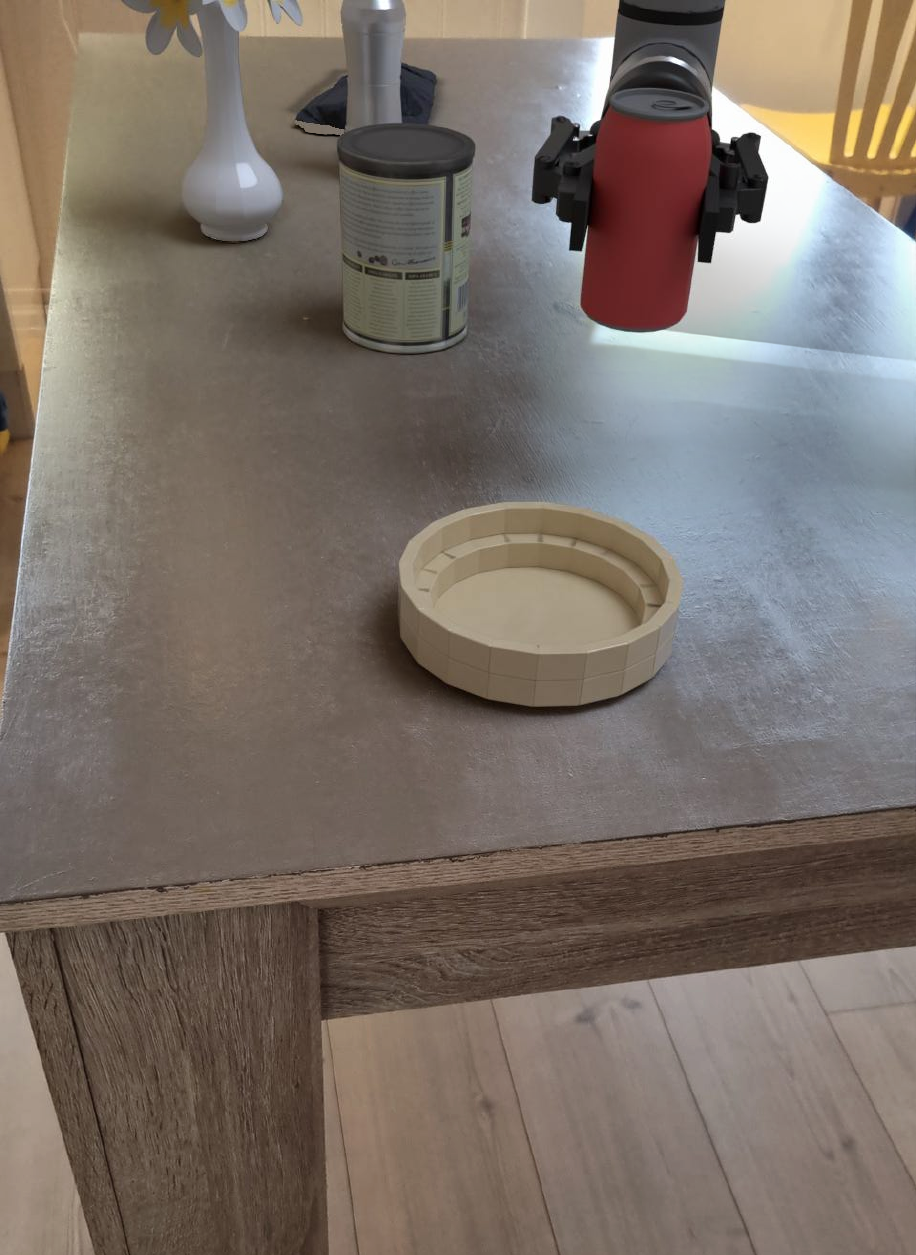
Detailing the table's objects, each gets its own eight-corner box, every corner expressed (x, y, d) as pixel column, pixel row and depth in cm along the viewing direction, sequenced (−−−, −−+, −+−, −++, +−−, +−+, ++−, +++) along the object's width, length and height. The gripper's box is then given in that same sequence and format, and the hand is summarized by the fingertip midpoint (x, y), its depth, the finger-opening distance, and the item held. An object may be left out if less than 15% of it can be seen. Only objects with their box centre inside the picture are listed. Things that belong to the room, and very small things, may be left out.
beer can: (695, 337, 78) (730, 118, 70) (586, 336, 78) (610, 115, 70) (674, 296, 83) (705, 86, 75) (571, 294, 83) (592, 83, 75)
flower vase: (134, 262, 115) (91, -78, 98) (200, 197, 129) (173, -111, 112) (277, 277, 114) (259, -65, 97) (329, 210, 127) (320, -100, 110)
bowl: (683, 581, 79) (694, 523, 77) (656, 737, 68) (667, 674, 65) (434, 544, 81) (435, 486, 79) (366, 688, 70) (365, 626, 67)
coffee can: (334, 307, 109) (330, 122, 100) (455, 303, 111) (462, 121, 101) (348, 357, 102) (344, 163, 92) (478, 353, 103) (487, 161, 94)
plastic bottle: (357, 189, 132) (353, -44, 119) (334, 169, 137) (328, -57, 124) (415, 183, 135) (419, -46, 121) (391, 164, 139) (391, -59, 126)
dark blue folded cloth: (455, 95, 161) (457, 52, 158) (420, 145, 145) (421, 98, 141) (334, 85, 162) (333, 41, 159) (287, 133, 146) (284, 86, 143)
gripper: (788, 191, 91) (805, 316, 74) (511, 167, 93) (466, 284, 76) (812, 70, 86) (836, 174, 69) (519, 48, 88) (472, 144, 71)
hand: (642, 231), depth 72 cm, fingers closed on beer can, 6 cm apart
